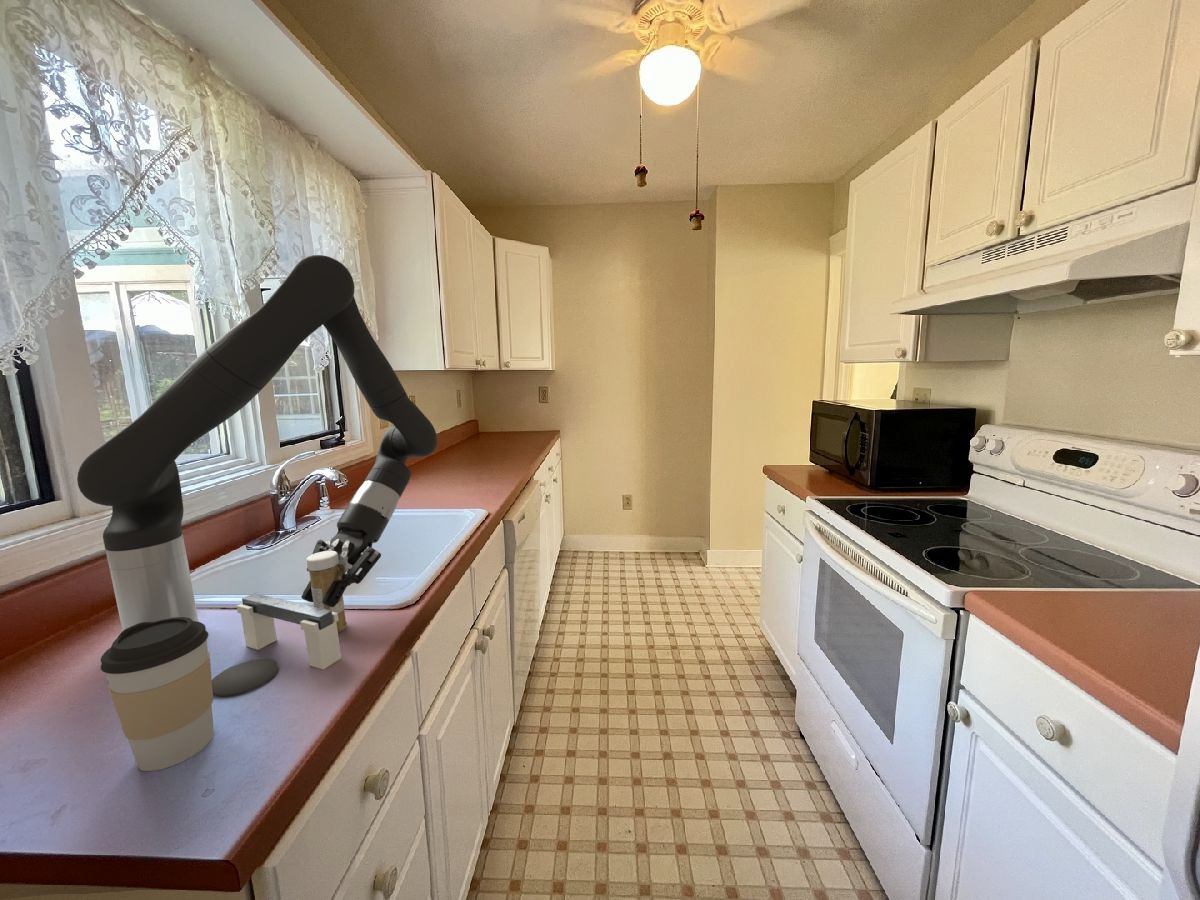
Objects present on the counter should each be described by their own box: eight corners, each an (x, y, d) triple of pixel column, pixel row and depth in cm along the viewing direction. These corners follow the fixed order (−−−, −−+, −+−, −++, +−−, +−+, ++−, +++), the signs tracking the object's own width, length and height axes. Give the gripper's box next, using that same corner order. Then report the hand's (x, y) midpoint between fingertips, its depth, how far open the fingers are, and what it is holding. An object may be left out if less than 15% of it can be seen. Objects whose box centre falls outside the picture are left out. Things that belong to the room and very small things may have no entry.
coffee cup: (244, 724, 60) (224, 612, 57) (164, 785, 51) (137, 655, 49) (187, 715, 62) (166, 606, 59) (101, 772, 53) (72, 647, 51)
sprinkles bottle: (348, 631, 81) (338, 555, 79) (317, 640, 79) (306, 562, 77) (345, 620, 85) (336, 547, 83) (316, 628, 83) (305, 553, 80)
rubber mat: (196, 689, 67) (195, 685, 67) (256, 657, 74) (255, 654, 74) (231, 702, 64) (231, 698, 64) (290, 668, 71) (290, 664, 71)
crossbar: (243, 610, 77) (241, 598, 77) (256, 604, 79) (254, 593, 79) (320, 629, 70) (319, 617, 70) (333, 623, 72) (331, 610, 72)
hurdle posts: (243, 647, 77) (236, 605, 76) (267, 635, 81) (261, 595, 80) (320, 671, 70) (314, 625, 69) (343, 656, 74) (337, 612, 73)
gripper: (327, 498, 88) (270, 588, 79) (385, 504, 83) (330, 601, 74) (355, 518, 94) (305, 604, 85) (411, 524, 88) (364, 617, 79)
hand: (317, 602), depth 79 cm, fingers closed on sprinkles bottle, 4 cm apart
